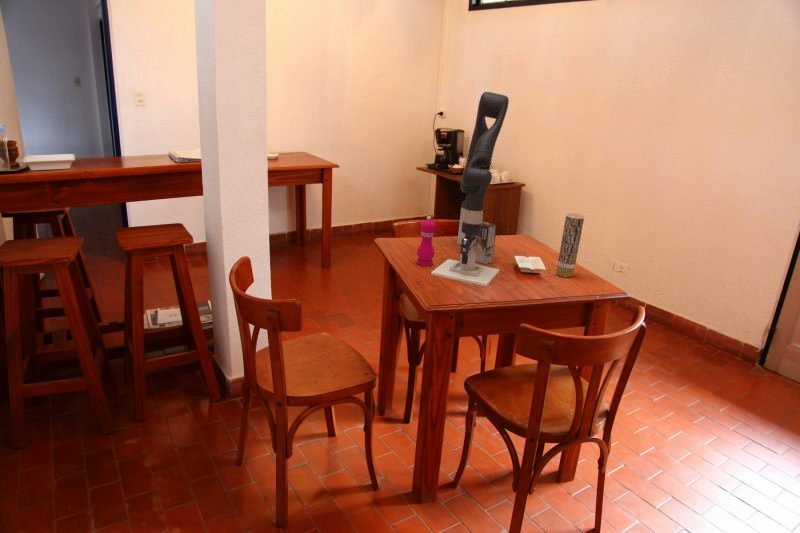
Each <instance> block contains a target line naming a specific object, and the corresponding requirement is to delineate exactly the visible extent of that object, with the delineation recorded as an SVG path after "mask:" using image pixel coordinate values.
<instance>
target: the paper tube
mask: <svg viewBox="0 0 800 533" xmlns="http://www.w3.org/2000/svg"><path fill="white" fill-rule="evenodd" d="M564 220H565V221H564V225H563V231H562V236H561V244H560V248H559V254H558V259H557V265H556V270H555V271H556V272H555V273H556V275H557V274H558V275H557V276H559V275H560V277H561V276H566V277H565V278H567V277H569V276H570V277H569V278H572V277H573V276H574V274H575V267H576V264H577V258H578V251H579V247H580V241H581V237H582V231H583V225H584V221H585V216H584V215H583V214H579V213H574V212H573V213H570V212H569V213H566V215H565V218H564ZM571 276H572V277H571Z"/></svg>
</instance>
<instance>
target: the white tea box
mask: <svg viewBox="0 0 800 533" xmlns="http://www.w3.org/2000/svg"><path fill="white" fill-rule="evenodd" d="M464 251H466V249H465V250H464ZM459 258H460V259H459V261H460V265H461V266H462V267H463V268H464V269H465V270H474V269H475V265H476V262H477V261H476V254H475V251H474V245H472V248H471V250H470V251H469V254H468V261H467V264H462V263H461V261H462V254H460V257H459Z"/></svg>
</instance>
